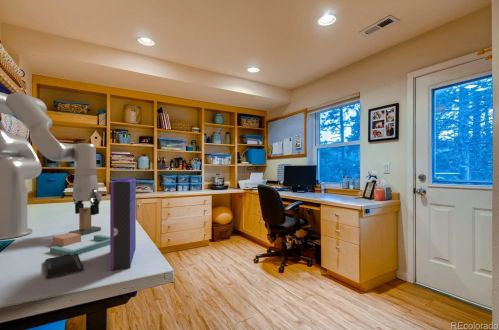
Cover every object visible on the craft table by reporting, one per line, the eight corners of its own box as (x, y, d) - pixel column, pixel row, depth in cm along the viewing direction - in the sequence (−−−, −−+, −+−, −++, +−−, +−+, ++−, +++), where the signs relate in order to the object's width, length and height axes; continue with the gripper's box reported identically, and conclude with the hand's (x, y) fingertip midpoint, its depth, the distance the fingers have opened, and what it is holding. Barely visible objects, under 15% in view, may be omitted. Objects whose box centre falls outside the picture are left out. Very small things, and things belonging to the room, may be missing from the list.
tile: (52, 245, 86) (52, 237, 86) (70, 240, 92) (70, 232, 92) (63, 247, 84) (63, 238, 84) (81, 242, 90) (81, 234, 90)
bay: (49, 252, 79) (49, 247, 79) (97, 238, 93) (97, 234, 93) (71, 257, 74) (71, 252, 74) (117, 241, 89) (117, 237, 89)
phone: (77, 252, 76) (83, 268, 65) (77, 256, 76) (83, 272, 65) (44, 259, 71) (45, 277, 60) (44, 263, 71) (45, 281, 60)
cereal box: (120, 249, 81) (120, 178, 81) (135, 247, 83) (135, 178, 83) (110, 270, 65) (110, 181, 65) (129, 268, 67) (129, 181, 67)
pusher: (76, 237, 95) (76, 210, 95) (68, 235, 97) (68, 209, 97) (100, 230, 104) (100, 206, 105) (93, 229, 106) (93, 205, 106)
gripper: (63, 173, 101) (64, 214, 101) (90, 173, 94) (91, 217, 94) (81, 172, 108) (82, 211, 108) (108, 172, 101) (109, 213, 101)
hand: (87, 213), depth 101 cm, fingers open, 9 cm apart
